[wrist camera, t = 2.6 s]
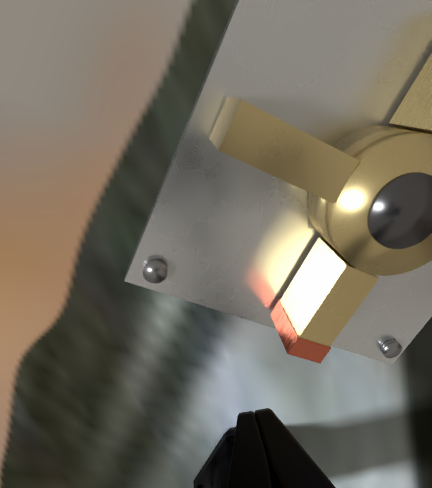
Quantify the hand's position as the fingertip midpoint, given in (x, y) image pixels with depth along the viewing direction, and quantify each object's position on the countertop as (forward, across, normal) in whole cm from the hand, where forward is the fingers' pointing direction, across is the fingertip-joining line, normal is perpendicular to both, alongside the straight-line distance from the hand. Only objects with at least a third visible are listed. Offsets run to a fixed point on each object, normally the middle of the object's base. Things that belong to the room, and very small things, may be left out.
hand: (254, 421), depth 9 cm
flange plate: (+11, -8, -3) cm, 13 cm away
